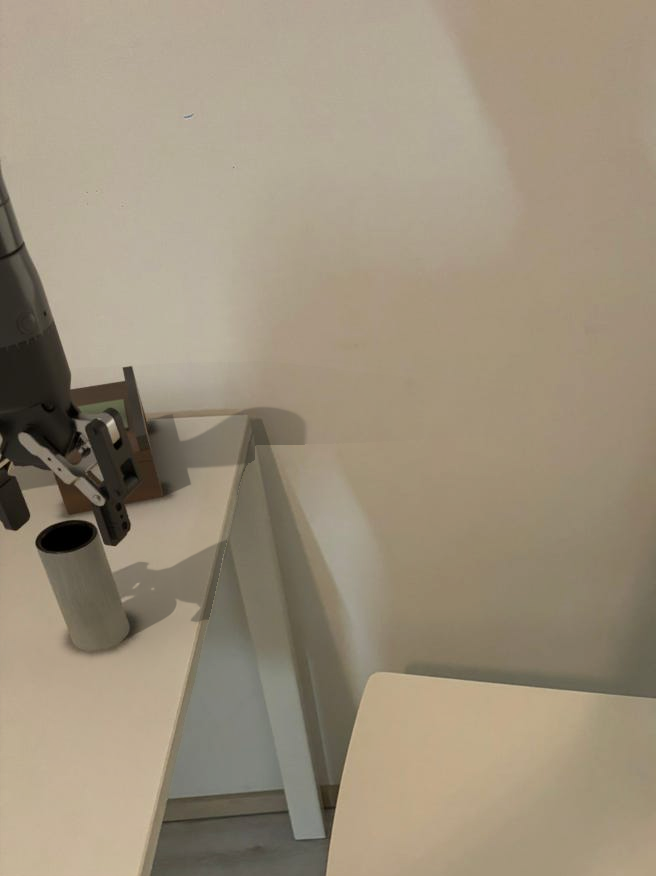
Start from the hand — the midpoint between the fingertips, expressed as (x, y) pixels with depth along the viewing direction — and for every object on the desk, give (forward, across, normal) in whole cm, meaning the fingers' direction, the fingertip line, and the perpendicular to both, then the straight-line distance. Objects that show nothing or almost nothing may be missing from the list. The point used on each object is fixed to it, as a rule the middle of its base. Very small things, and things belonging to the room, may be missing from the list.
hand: (67, 532), depth 71 cm
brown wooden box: (+10, +14, -24) cm, 30 cm away
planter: (+11, 0, 0) cm, 11 cm away
